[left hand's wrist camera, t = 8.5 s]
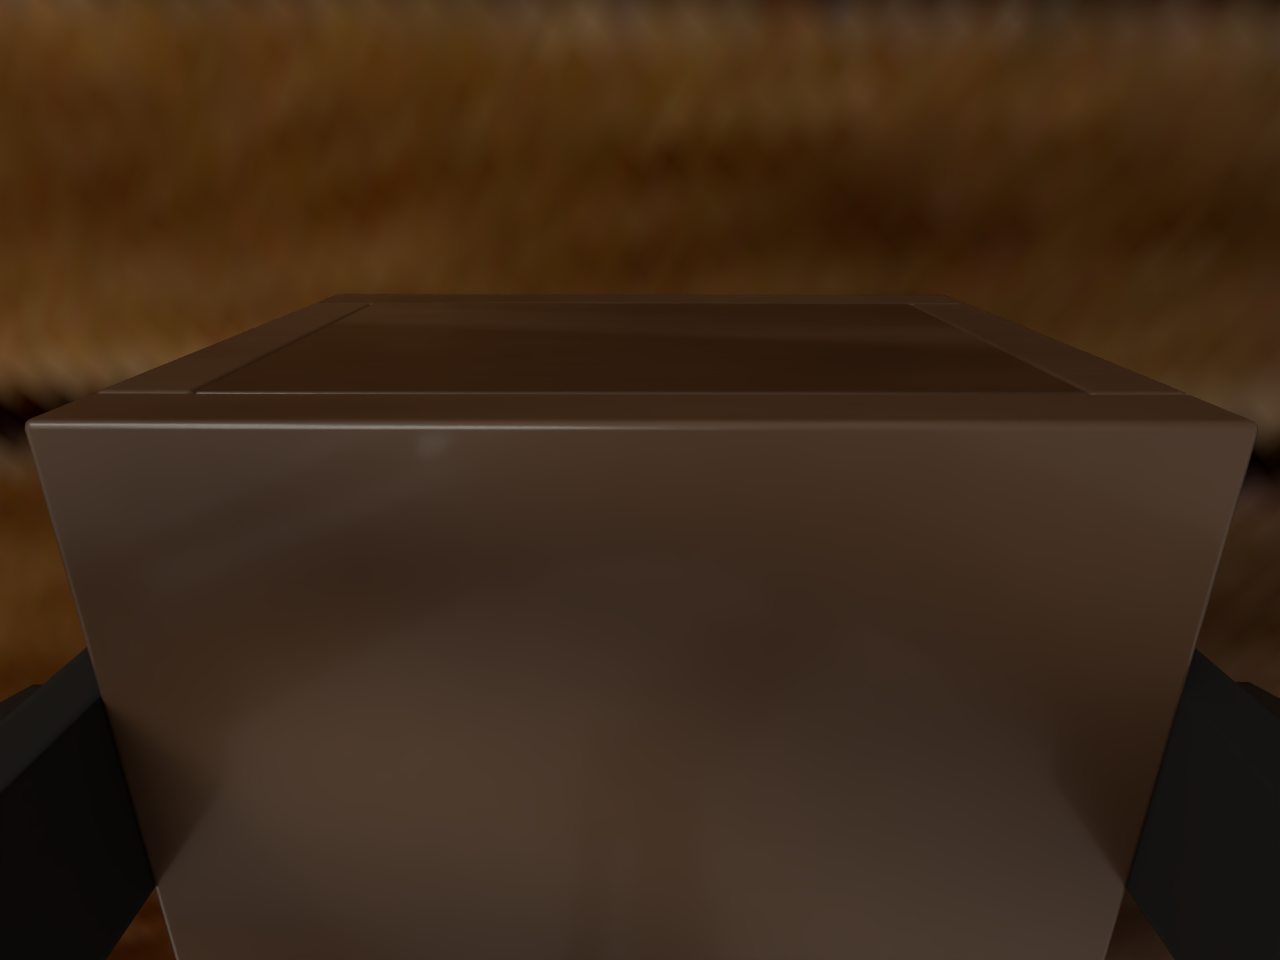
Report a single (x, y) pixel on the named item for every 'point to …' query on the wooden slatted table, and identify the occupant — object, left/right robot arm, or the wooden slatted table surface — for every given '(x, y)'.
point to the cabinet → (641, 625)
